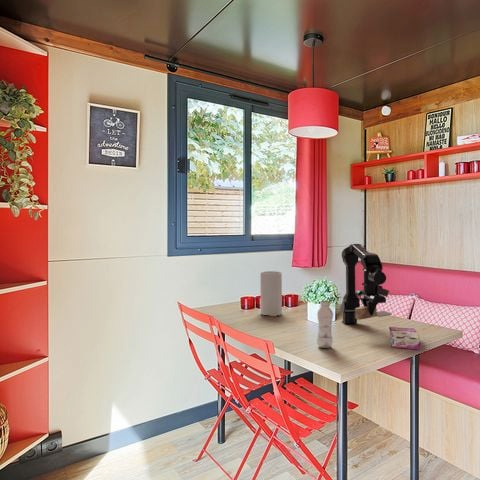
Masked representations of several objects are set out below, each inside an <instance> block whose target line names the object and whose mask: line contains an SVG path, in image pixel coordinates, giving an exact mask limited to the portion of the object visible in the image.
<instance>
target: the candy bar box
mask: <svg viewBox="0 0 480 480" xmlns="http://www.w3.org/2000/svg"><path fill="white" fill-rule="evenodd" d="M388 338H389V341H390V344H391V348H393V349H394V348H397V349H407V350H409V349H411V350H421V337H420V336H419V334H418V333H417V331H416V330H415V328H407V327H397V326H396V327H394V326H388Z"/></svg>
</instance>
